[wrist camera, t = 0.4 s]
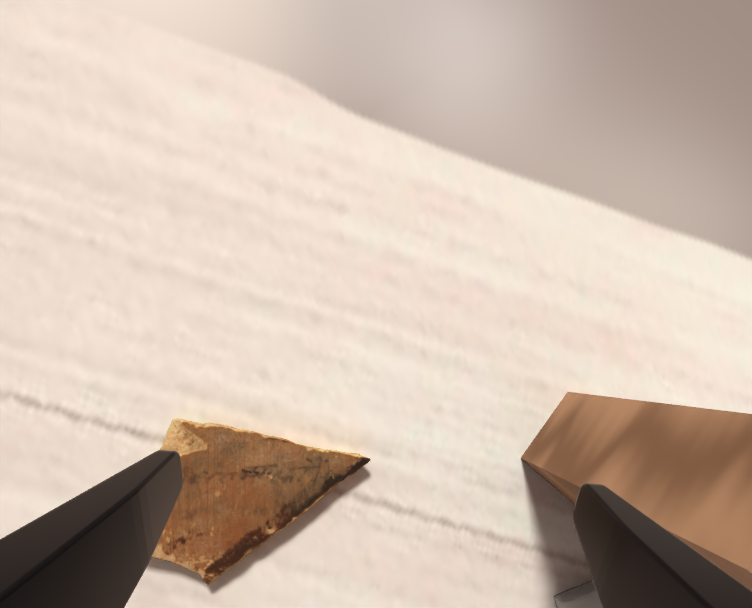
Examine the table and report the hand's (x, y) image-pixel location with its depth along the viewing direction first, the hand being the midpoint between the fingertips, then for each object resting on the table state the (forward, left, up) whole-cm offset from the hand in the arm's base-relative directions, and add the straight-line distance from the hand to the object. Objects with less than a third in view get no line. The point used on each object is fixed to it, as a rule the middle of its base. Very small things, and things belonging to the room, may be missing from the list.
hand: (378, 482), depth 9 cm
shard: (-1, +6, -15) cm, 16 cm away
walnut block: (-6, -13, -14) cm, 20 cm away
